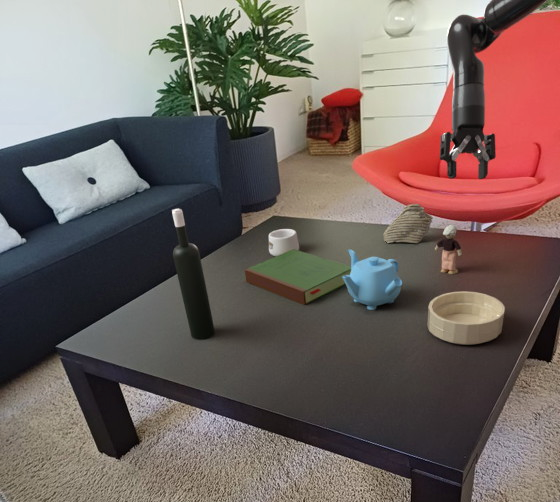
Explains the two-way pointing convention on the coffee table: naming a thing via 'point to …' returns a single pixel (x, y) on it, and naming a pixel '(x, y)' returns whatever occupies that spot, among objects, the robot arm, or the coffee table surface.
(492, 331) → the bowl
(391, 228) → the fossil tooth
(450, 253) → the grandmother figurine
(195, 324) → the wine bottle
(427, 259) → the coffee table surface
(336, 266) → the hardcover book
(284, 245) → the mug
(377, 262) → the teapot
